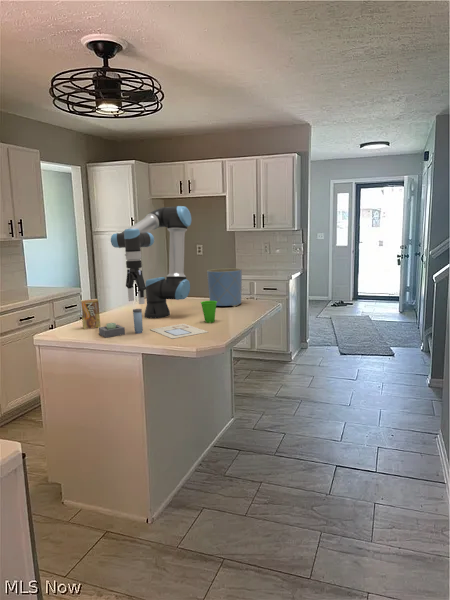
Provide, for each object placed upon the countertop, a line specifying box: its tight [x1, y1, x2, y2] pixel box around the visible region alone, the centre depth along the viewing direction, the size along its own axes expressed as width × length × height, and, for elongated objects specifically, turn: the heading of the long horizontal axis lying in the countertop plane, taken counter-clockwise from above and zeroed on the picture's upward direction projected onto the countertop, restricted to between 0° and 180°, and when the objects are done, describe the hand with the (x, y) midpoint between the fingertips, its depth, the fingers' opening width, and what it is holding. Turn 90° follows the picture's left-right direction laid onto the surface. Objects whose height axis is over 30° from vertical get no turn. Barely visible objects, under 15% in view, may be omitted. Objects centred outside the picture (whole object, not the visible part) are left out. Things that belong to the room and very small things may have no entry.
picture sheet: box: [149, 323, 209, 340], centre depth 233 cm, size 26×20×1 cm
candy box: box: [80, 298, 101, 330], centre depth 249 cm, size 9×4×15 cm, turn 116°
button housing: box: [98, 324, 126, 338], centre depth 231 cm, size 10×10×4 cm
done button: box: [105, 322, 117, 329], centre depth 231 cm, size 5×5×4 cm
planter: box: [206, 267, 243, 308], centre depth 303 cm, size 23×23×24 cm
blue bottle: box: [132, 308, 144, 334], centre depth 232 cm, size 4×4×12 cm
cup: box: [200, 300, 217, 324], centre depth 252 cm, size 9×9×11 cm
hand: (136, 302), depth 230 cm, fingers open, 13 cm apart
